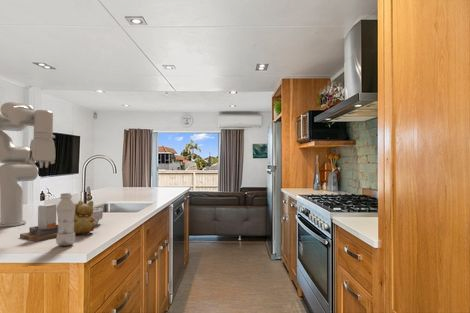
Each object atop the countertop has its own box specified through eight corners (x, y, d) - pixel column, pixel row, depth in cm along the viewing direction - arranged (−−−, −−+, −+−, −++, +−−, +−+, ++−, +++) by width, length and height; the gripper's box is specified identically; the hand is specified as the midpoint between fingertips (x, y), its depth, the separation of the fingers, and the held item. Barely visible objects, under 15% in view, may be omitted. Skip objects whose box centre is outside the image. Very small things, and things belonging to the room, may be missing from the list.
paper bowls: (109, 224, 164) (109, 208, 164) (81, 229, 151) (81, 212, 151) (91, 221, 172) (91, 206, 172) (63, 226, 159) (63, 210, 159)
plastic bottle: (60, 243, 126) (60, 193, 126) (78, 243, 126) (78, 192, 126) (52, 248, 119) (52, 194, 119) (71, 247, 120) (71, 194, 120)
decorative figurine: (96, 231, 147) (96, 199, 147) (94, 235, 139) (94, 201, 139) (73, 233, 144) (73, 200, 144) (69, 237, 136) (69, 202, 136)
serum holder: (20, 237, 136) (20, 228, 136) (55, 230, 149) (55, 222, 149) (37, 241, 129) (37, 231, 129) (72, 234, 142) (72, 225, 142)
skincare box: (45, 233, 136) (45, 205, 136) (37, 233, 137) (37, 205, 137) (56, 230, 142) (56, 204, 142) (48, 230, 143) (48, 203, 143)
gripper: (55, 137, 155) (54, 175, 156) (21, 136, 143) (20, 176, 143) (63, 137, 151) (62, 176, 152) (29, 136, 139) (28, 177, 139)
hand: (42, 176), depth 147 cm, fingers closed
